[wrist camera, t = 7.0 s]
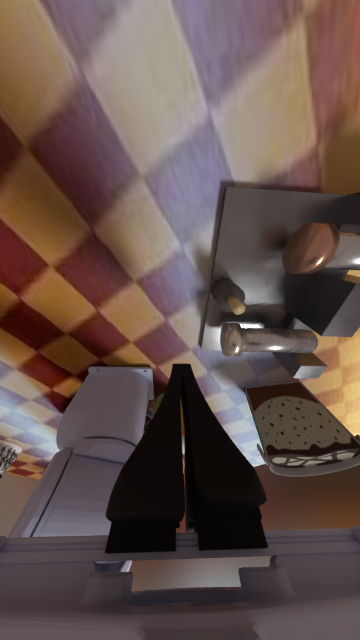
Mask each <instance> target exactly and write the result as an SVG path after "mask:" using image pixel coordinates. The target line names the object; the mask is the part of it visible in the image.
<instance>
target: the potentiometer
mask: <svg viewBox="0 0 360 640" xmlns="http://www.w3.org/2000/svg"><path fill="white" fill-rule="evenodd" d="M212 295H213V298H214V299H215V301H216V303H217V305H218V306H219V308H220V309H221V310H222V311H225V312H234V314H236V315H240V314H242V313H243V312H244V311H245V306H244V305H243V303H244V301H245V293H244V291H243V290H242V289H241V288H240V287H239V286H237V285H236V284H235V283H234V282H233V281H231V280H227V279H225V280H221V281H219V282H218V283H216V284H215V286H214V287H213V290H212Z"/></svg>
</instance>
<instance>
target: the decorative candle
mask: <svg viewBox="0 0 360 640" xmlns="http://www.w3.org/2000/svg"><path fill="white" fill-rule="evenodd" d="M21 451H22V448H21V447H20V446H19V445H18V444H15V443H13V442H10V441H6V440H2V439H0V480H1V478H2V475H1V474H2V473H4V472H5V471H7V470H8V469H9V468H10V466H11V463H12V462H13V461H15V459H16V458H17V454H19V453H20V452H21Z"/></svg>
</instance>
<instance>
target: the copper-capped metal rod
mask: <svg viewBox="0 0 360 640" xmlns="http://www.w3.org/2000/svg"><path fill="white" fill-rule="evenodd" d="M282 263H283V267H284V269H285V270H286V271H287V272H288V273H291V274H312V273H315V272H317V271H319V270H321V269H343V270H360V233H344V232H339V230H338V228H337V227H336V226H335V225H333V224H330V223H315V222H310V223H306V224H304V225H302V226H301V227H299V228H298V229H297V230H296V231H295V232H294V233H293V234H292V236H291V237H290V238H289V240H288V242H287V244H286V246H285V248H284V252H283V256H282Z"/></svg>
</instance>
